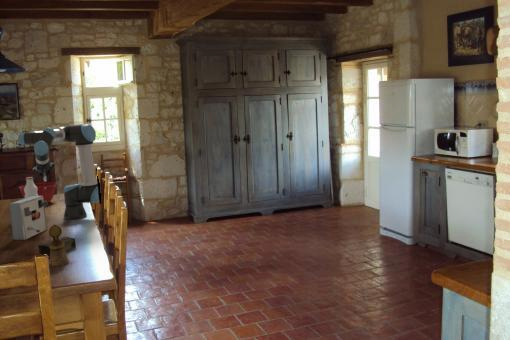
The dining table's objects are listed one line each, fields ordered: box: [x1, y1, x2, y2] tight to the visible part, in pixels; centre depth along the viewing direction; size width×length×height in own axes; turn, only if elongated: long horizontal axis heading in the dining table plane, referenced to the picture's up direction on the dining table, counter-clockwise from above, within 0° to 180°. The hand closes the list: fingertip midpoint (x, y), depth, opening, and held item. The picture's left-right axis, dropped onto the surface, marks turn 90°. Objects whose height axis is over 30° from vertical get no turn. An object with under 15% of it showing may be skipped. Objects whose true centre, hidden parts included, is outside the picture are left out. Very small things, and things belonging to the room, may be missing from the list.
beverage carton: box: [38, 236, 77, 258], centre depth 283 cm, size 8×19×7 cm, turn 153°
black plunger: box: [38, 201, 49, 208], centre depth 332 cm, size 6×4×4 cm, turn 81°
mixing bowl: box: [18, 182, 57, 204], centre depth 433 cm, size 28×28×16 cm
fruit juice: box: [24, 176, 38, 198], centre depth 384 cm, size 9×9×28 cm
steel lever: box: [28, 226, 40, 234], centre depth 317 cm, size 7×2×2 cm, turn 82°
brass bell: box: [48, 224, 69, 267], centre depth 263 cm, size 9×14×18 cm, turn 23°
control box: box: [8, 196, 48, 241], centre depth 325 cm, size 10×24×22 cm, turn 171°
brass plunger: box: [31, 211, 40, 219], centre depth 325 cm, size 8×5×5 cm, turn 81°
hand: (44, 179), depth 340 cm, fingers closed
